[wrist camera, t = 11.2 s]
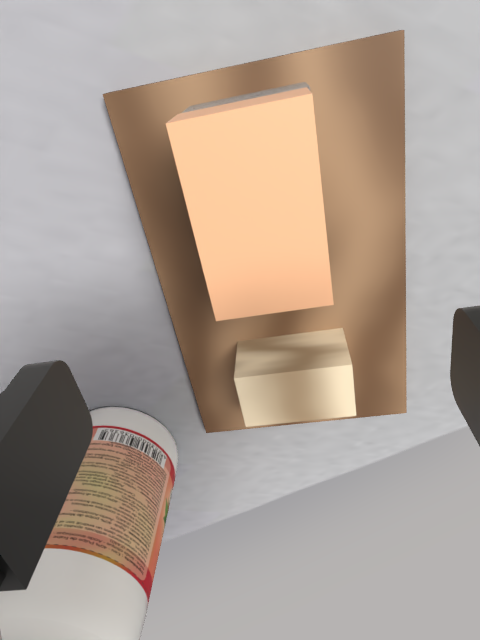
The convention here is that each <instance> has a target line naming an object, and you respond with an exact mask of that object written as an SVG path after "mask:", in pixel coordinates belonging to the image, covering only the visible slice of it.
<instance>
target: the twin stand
mask: <svg viewBox="0 0 480 640" xmlns="http://www.w3.org/2000/svg"><path fill="white" fill-rule="evenodd" d="M302 82H306V83H307V84H308V85H309V86H310V91H311V92H312V95H313V105H314V115H315V124H316V134H317V144H318V154H319V164H320V174H321V184H322V194H323V204H324V213H325V223H326V233H327V243H328V253H329V263H330V273H331V283H332V292H333V302H334V305H329V306H322V307H315V308H308V309H301V310H293V311H286V312H279V313H272V314H264V315H257V316H250V317H243V318H236V319H228V320H221V321H216V319H215V315H214V312H213V308H212V304H211V300H210V296H209V292H208V288H207V284H206V280H205V276H204V272H203V268H202V264H201V260H200V257H199V253H198V249H197V245H196V241H195V237H194V233H193V229H192V225H191V221H190V217H189V213H188V209H187V206H186V202H185V198H184V194H183V190H182V186H181V182H180V178H179V174H178V170H177V166H176V162H175V158H174V154H173V151H172V147H171V143H170V139H169V135H168V131H167V127H166V123H167V122H168V121H169V120H171V119H172V118H173V117H175V116H176V115H177V114H180V113H182V112H183V111H184V110H186V109H187V108H188V107H189V106H192V105H196V104H201V103H206V102H211V101H215V100H220V99H225V98H230V97H235V96H239V95H244V94H249V93H254V92H259V91H263V90H268V89H273V88H278V87H282V86H287V85H292V84H297V83H302ZM103 97H104V100H105V104H106V107H107V110H108V113H109V117H110V120H111V123H112V126H113V130H114V133H115V136H116V139H117V143H118V146H119V149H120V152H121V156H122V159H123V162H124V166H125V169H126V172H127V175H128V179H129V182H130V185H131V188H132V192H133V195H134V198H135V201H136V205H137V208H138V211H139V215H140V218H141V221H142V224H143V228H144V231H145V234H146V237H147V241H148V244H149V247H150V250H151V254H152V257H153V260H154V263H155V267H156V270H157V273H158V277H159V280H160V283H161V286H162V290H163V293H164V296H165V299H166V303H167V306H168V309H169V312H170V316H171V319H172V322H173V326H174V329H175V332H176V335H177V339H178V342H179V345H180V348H181V352H182V355H183V358H184V361H185V365H186V368H187V371H188V374H189V378H190V381H191V384H192V388H193V391H194V394H195V397H196V401H197V404H198V407H199V410H200V414H201V417H202V420H203V423H204V427H205V430H206V433H211V432H221V431H231V430H241V429H250V428H260V427H270V426H280V425H290V424H300V423H310V422H320V421H330V420H340V419H350V418H360V417H370V416H380V415H390V414H400V413H406V254H405V80H404V30H399V31H394V32H389V33H385V34H380V35H375V36H371V37H366V38H361V39H357V40H352V41H347V42H343V43H338V44H333V45H329V46H324V47H319V48H315V49H310V50H305V51H301V52H296V53H291V54H287V55H282V56H277V57H273V58H268V59H263V60H259V61H254V62H249V63H245V64H240V65H235V66H231V67H226V68H221V69H217V70H212V71H207V72H202V73H198V74H193V75H188V76H184V77H179V78H174V79H170V80H165V81H160V82H156V83H151V84H146V85H142V86H137V87H132V88H128V89H123V90H118V91H114V92H109V93H106V94H103Z"/></svg>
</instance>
